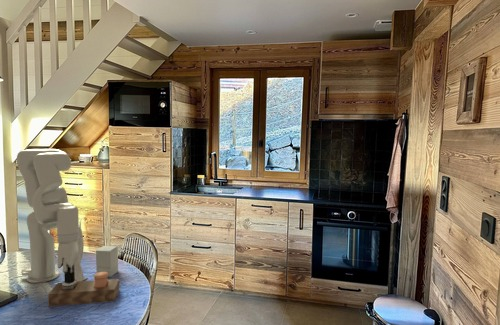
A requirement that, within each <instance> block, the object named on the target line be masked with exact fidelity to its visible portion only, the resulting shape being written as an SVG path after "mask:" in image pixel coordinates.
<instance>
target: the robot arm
mask: <svg viewBox="0 0 500 325" xmlns="http://www.w3.org/2000/svg"><path fill="white" fill-rule="evenodd" d="M16 163H17V168H18V170H19V172H20V175H21V176H22V178H23V181H24V187H25V193H26V200H27V203H28V204H27V205H28V206H29V207H30V208H31V209H32V210H33V211H32V212H30V213H29V214H28V215H27V217H26V225H27V230H28V234H29V235H28V236H29V251H30V252H29V254H30V256H29V257H30V268H29V269H27V268H25V269H22V270H21V275H22V276H27V278H26V281H27V282H28V283H31V284H39V283H46V282H50V281H52V280H54V279H56V278H58V277H60V276H59V275H60V271H59V270H56V264H57V269H61V268H62V273H63V275H64V281H65V283H73V282H74V280H75V273H74V270H75V263H76V261H77V260H78V242H77V241H78V240H79V225H80V221H79V208H78V207H77V206H75V205H74V204H73V203H71V202H69V198H68V193H67V191H66V189H65V188H64V186H62V185H63V178H62V176H61V173H60V172H64V171H69V170H70V168H71V167H72V160H71V158H70V155H69V154H68V153H66V151H63V150H61V149H56V148H31V149H30V148H29V149H23V150H20V151H19V152H18V153H17V155H16ZM55 229H56V231H57V232H56V234H57V235H56V236H57V243H58V246H57V263H56V258H55V255H56V252H55V237H54V236H53V235H52V234H51V233H50V232H49V231H51V230H55Z"/></svg>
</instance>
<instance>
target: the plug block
mask: <svg viewBox="0 0 500 325" xmlns="http://www.w3.org/2000/svg"><path fill="white" fill-rule="evenodd" d="M119 292H120V278H111V279H108V285H107V287H101V288H95V279H94V280H84V281H78V282H77V286H76V287H75V289H72V290H62V282H57V284H55V286H53V288H52V289H51V290H50V291H49V292H48V294H47V299H48V300H47V304H48V307H49V308H50V307H59V306H74V305H85V304H86V305H87V304H98V303H100V304H101V303H114V302H115V301H116V298H117V297H118V294H119Z"/></svg>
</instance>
